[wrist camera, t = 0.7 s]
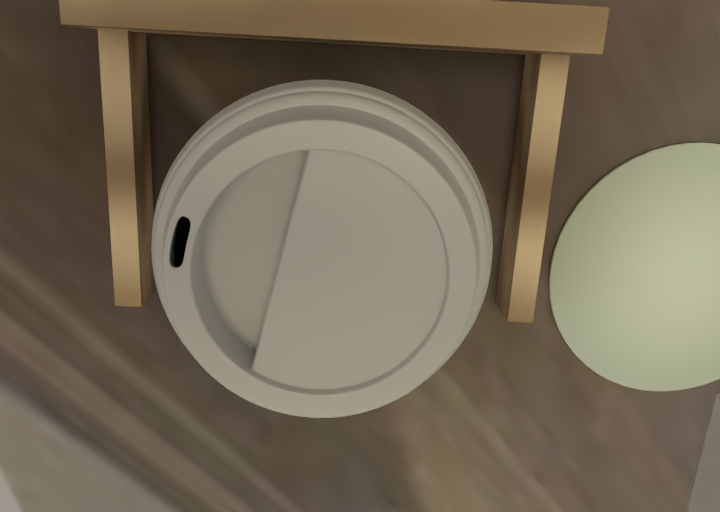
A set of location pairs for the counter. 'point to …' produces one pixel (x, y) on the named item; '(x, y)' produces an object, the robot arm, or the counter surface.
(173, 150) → the counter surface
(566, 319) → the coaster
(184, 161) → the coffee cup
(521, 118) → the shelf bay
